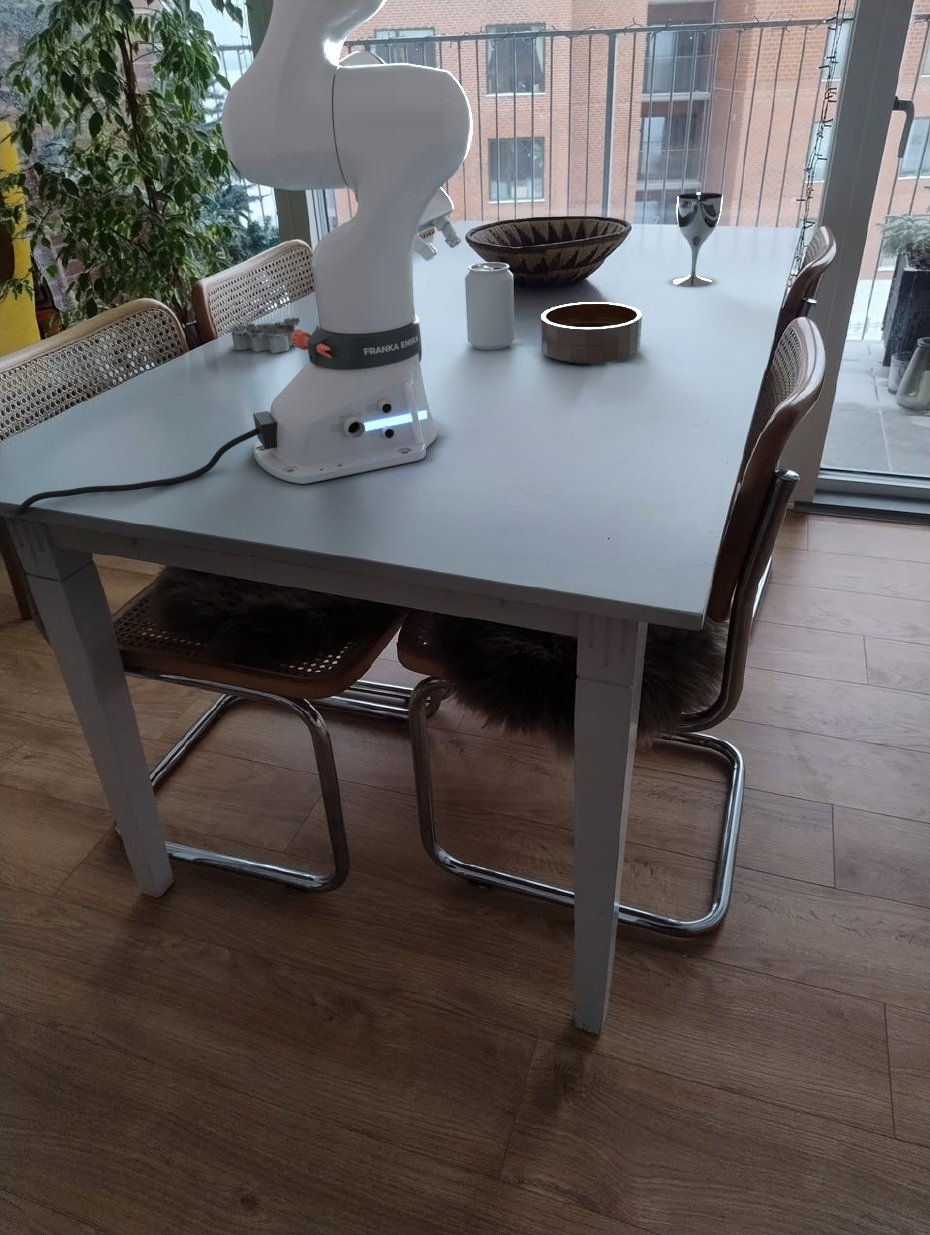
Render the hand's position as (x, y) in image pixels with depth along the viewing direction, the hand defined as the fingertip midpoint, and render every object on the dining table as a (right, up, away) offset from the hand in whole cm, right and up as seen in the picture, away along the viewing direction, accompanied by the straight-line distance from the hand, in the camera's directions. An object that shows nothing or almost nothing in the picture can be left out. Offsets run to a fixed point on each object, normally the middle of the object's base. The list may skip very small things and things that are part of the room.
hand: (445, 250), depth 133 cm
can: (+7, -13, +5) cm, 16 cm away
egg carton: (-30, -12, +11) cm, 34 cm away
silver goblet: (+47, +8, +33) cm, 58 cm away
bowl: (+22, -16, 0) cm, 27 cm away
